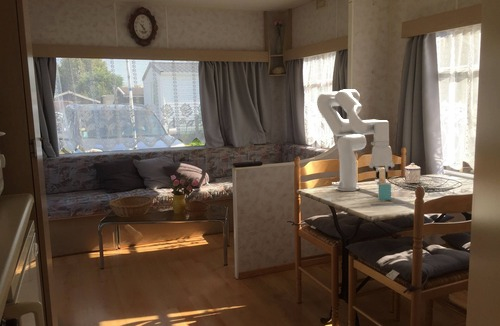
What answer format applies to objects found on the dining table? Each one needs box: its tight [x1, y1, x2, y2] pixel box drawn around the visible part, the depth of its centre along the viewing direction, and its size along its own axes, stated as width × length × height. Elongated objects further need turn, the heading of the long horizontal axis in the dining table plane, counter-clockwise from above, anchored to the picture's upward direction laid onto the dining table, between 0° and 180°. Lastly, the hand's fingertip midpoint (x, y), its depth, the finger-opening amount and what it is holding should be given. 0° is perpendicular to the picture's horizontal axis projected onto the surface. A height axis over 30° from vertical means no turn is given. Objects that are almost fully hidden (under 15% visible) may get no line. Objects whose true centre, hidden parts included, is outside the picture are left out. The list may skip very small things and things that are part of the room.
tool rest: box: [391, 190, 414, 198], centre depth 227 cm, size 10×13×1 cm
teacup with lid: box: [404, 162, 421, 184], centre depth 256 cm, size 12×9×12 cm
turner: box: [374, 167, 390, 186], centre depth 226 cm, size 6×10×8 cm, turn 171°
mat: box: [370, 203, 406, 207], centre depth 214 cm, size 16×16×1 cm
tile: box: [377, 183, 392, 201], centre depth 217 cm, size 6×2×8 cm, turn 81°
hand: (381, 178), depth 226 cm, fingers closed on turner, 3 cm apart
